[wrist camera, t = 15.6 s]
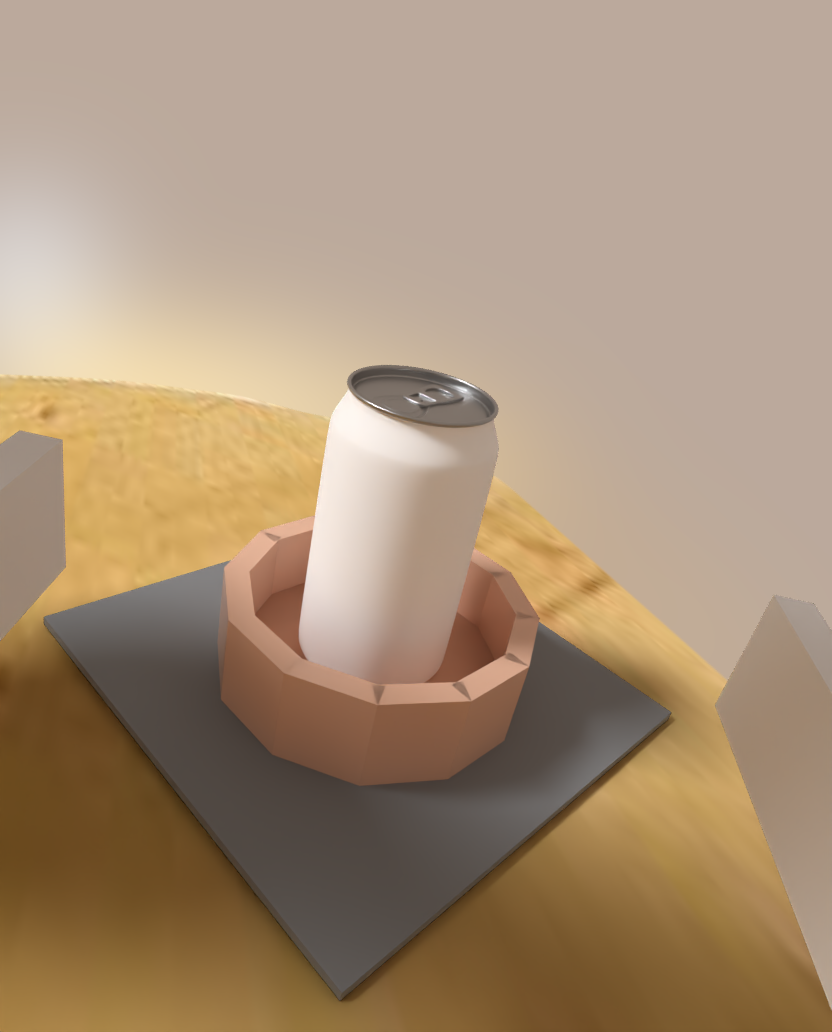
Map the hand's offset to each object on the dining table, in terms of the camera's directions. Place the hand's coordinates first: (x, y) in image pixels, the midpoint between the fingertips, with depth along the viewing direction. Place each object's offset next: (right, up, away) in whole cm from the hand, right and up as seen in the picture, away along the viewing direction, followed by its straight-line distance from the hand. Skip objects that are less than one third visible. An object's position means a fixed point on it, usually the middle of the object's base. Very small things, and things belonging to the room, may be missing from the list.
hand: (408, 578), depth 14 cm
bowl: (-2, -6, +20) cm, 21 cm away
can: (-2, -5, +19) cm, 20 cm away
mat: (-2, -6, +20) cm, 21 cm away
